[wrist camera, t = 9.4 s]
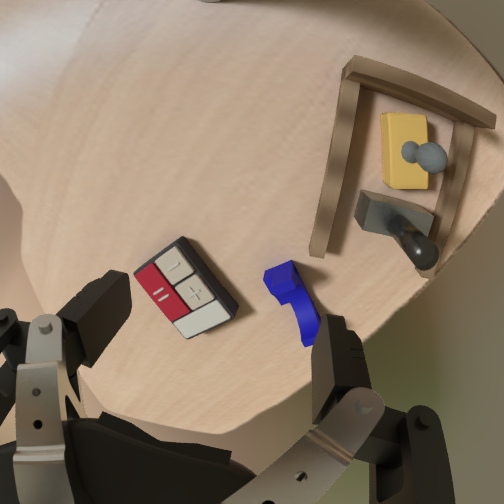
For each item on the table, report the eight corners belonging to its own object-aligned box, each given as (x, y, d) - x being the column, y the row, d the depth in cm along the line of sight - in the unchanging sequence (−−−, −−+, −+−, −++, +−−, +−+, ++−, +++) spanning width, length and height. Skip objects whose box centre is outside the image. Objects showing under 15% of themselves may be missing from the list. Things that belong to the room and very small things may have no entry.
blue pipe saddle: (265, 270, 44) (260, 291, 39) (291, 259, 43) (291, 279, 38) (296, 326, 48) (295, 350, 43) (320, 317, 47) (323, 341, 41)
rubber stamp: (418, 183, 35) (459, 206, 25) (382, 183, 36) (415, 207, 26) (416, 115, 31) (460, 115, 21) (379, 113, 32) (414, 109, 22)
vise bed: (342, 68, 30) (354, 54, 23) (465, 113, 29) (496, 115, 22) (308, 247, 42) (311, 273, 34) (424, 270, 40) (444, 296, 33)
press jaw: (360, 189, 37) (394, 223, 24) (418, 204, 36) (468, 243, 23) (353, 216, 38) (382, 262, 25) (410, 229, 38) (454, 277, 25)
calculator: (174, 242, 41) (234, 320, 44) (185, 233, 44) (240, 305, 48) (129, 275, 44) (185, 343, 48) (141, 265, 48) (193, 329, 52)
